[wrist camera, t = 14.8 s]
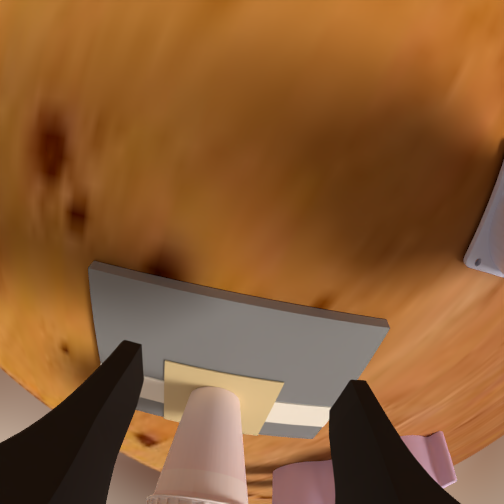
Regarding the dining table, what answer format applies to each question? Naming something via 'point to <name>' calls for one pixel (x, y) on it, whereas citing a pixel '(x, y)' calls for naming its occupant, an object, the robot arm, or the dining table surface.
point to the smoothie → (205, 453)
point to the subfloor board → (232, 348)
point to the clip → (322, 478)
